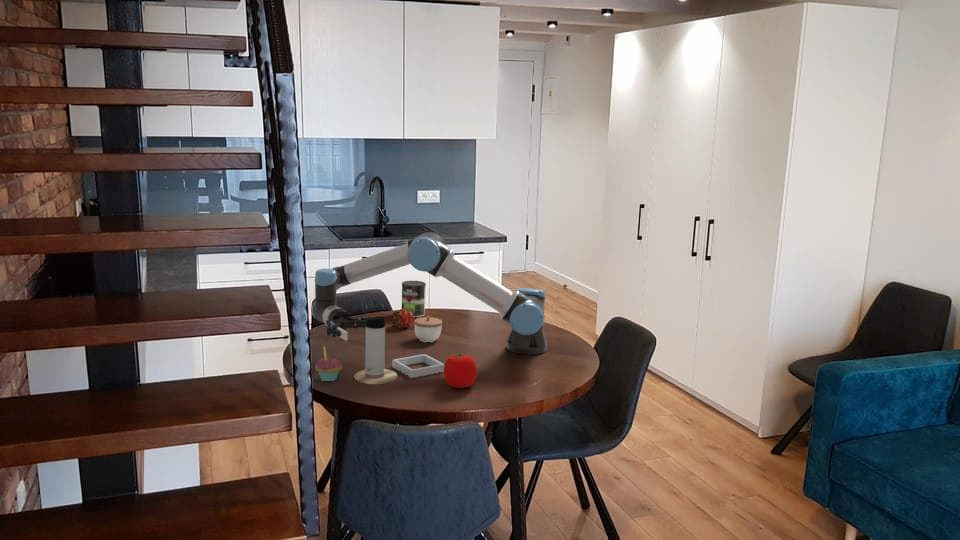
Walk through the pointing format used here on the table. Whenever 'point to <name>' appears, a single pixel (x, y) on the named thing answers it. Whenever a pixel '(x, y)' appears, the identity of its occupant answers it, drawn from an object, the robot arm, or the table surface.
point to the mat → (387, 378)
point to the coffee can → (414, 297)
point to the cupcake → (328, 367)
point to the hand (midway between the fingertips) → (365, 333)
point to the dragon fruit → (402, 318)
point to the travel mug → (375, 347)
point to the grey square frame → (433, 368)
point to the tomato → (460, 370)
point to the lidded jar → (427, 328)
